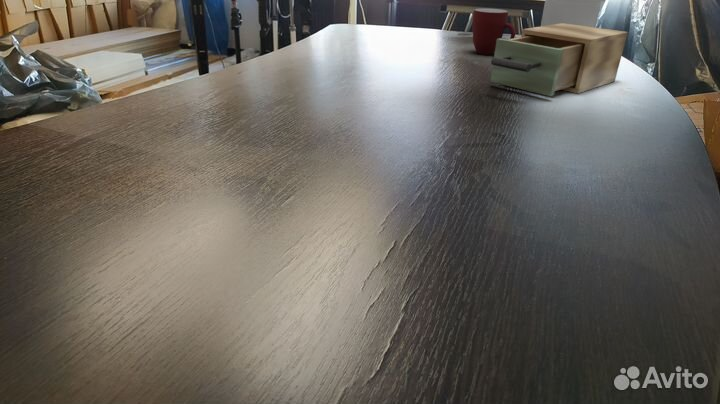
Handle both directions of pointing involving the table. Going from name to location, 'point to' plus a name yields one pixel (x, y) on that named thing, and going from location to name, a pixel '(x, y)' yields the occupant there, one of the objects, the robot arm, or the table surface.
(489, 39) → the mug
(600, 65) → the cabinet
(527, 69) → the drawer
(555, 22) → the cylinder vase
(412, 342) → the table surface
